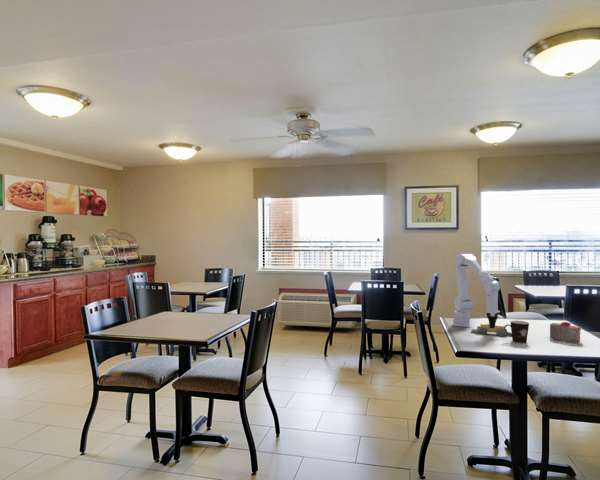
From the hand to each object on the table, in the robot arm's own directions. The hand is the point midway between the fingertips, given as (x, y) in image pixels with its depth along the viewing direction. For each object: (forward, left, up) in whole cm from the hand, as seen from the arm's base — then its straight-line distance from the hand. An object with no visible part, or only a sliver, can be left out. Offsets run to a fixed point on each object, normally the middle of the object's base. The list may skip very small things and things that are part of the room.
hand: (491, 326), depth 225 cm
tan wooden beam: (0, 0, -3) cm, 3 cm away
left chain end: (-7, 0, -4) cm, 8 cm away
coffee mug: (+11, -12, -4) cm, 17 cm away
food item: (+35, 0, -4) cm, 35 cm away
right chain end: (+6, 0, -4) cm, 8 cm away
